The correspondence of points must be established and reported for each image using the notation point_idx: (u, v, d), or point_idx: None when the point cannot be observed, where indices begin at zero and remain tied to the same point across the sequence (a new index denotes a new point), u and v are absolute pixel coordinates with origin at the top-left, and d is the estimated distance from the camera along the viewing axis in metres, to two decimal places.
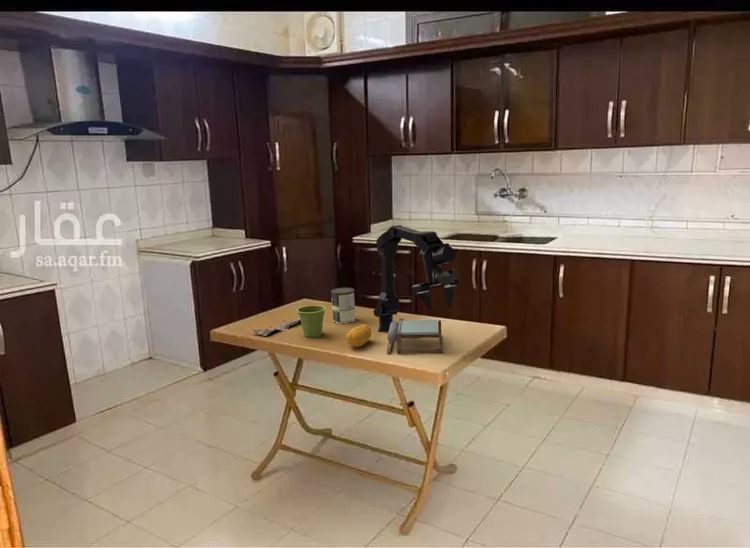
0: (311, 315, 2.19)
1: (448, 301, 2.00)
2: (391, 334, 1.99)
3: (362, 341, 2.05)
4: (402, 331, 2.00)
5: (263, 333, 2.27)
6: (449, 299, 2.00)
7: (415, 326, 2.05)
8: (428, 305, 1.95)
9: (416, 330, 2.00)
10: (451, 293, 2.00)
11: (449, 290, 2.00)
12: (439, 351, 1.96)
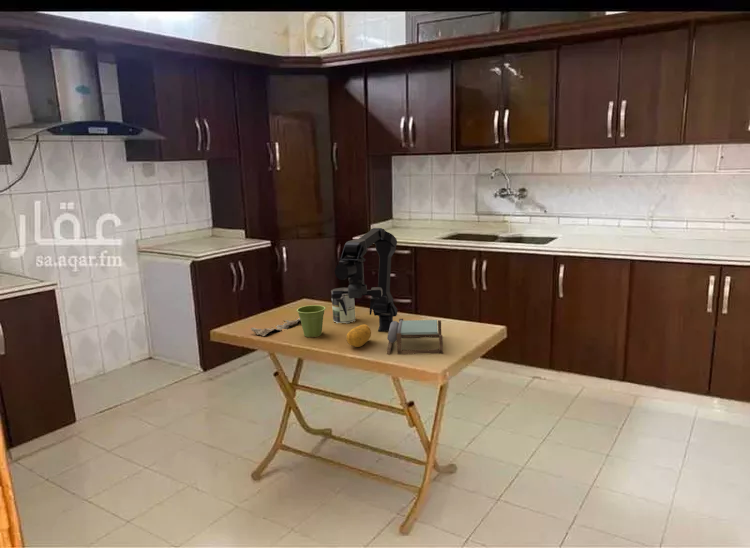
0: (311, 315, 2.19)
1: None
2: (391, 334, 1.99)
3: (362, 341, 2.05)
4: (402, 331, 2.00)
5: (262, 333, 2.28)
6: None
7: (415, 326, 2.05)
8: None
9: (416, 330, 2.00)
10: (371, 303, 2.05)
11: (370, 300, 2.05)
12: (439, 351, 1.96)
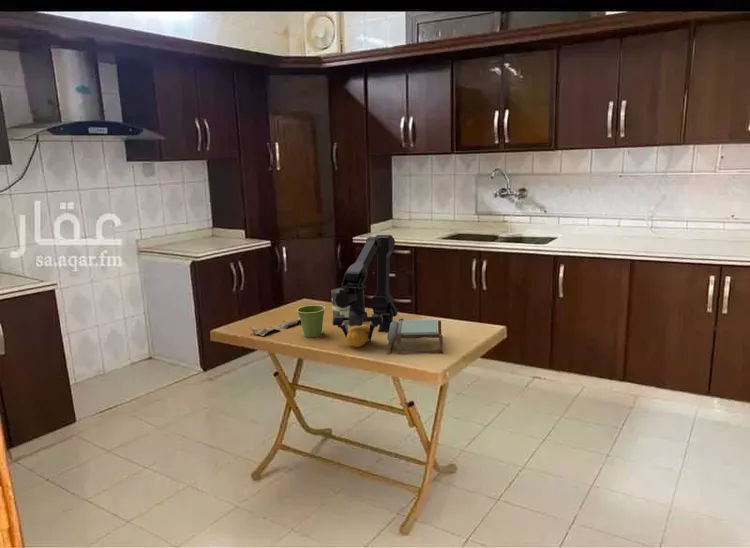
0: (311, 315, 2.19)
1: (369, 336, 2.09)
2: (391, 334, 1.99)
3: (362, 341, 2.05)
4: (402, 331, 2.00)
5: (261, 333, 2.28)
6: None
7: (415, 326, 2.05)
8: None
9: (416, 330, 2.00)
10: (371, 330, 2.07)
11: (370, 327, 2.07)
12: (439, 351, 1.96)
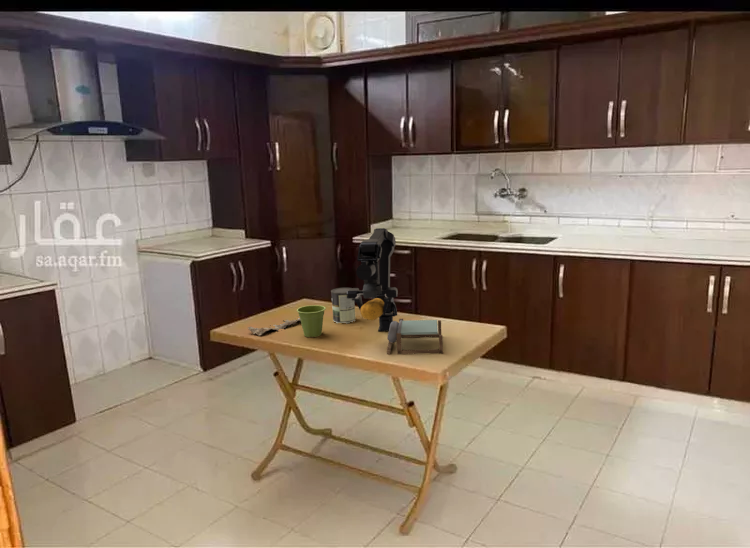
0: (311, 315, 2.19)
1: (383, 310, 2.06)
2: (391, 334, 1.99)
3: (376, 314, 2.02)
4: (402, 331, 2.00)
5: (258, 332, 2.29)
6: None
7: (415, 326, 2.05)
8: None
9: (416, 330, 2.00)
10: (385, 303, 2.04)
11: (384, 300, 2.05)
12: (439, 351, 1.96)
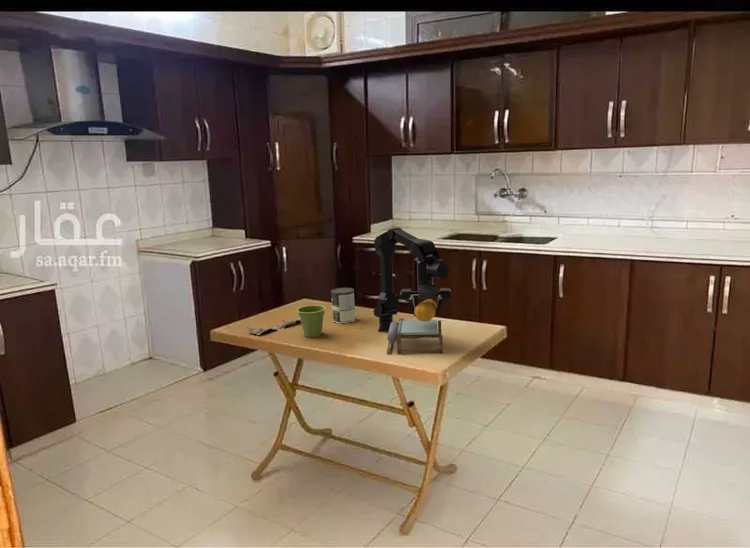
0: (311, 315, 2.19)
1: None
2: (391, 334, 1.99)
3: (431, 315, 2.00)
4: (402, 331, 2.00)
5: (257, 332, 2.29)
6: (437, 309, 2.03)
7: (415, 326, 2.05)
8: None
9: (416, 330, 2.00)
10: (439, 304, 2.02)
11: (438, 301, 2.02)
12: (439, 351, 1.96)
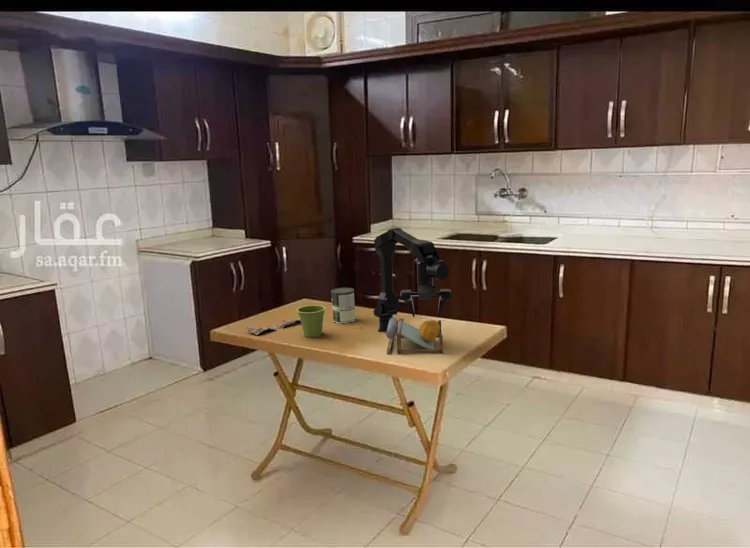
0: (311, 315, 2.19)
1: (438, 311, 2.04)
2: (391, 330, 1.98)
3: (433, 337, 2.01)
4: (402, 333, 2.00)
5: (255, 332, 2.30)
6: (438, 310, 2.03)
7: (414, 333, 2.06)
8: None
9: (415, 338, 2.01)
10: (440, 305, 2.02)
11: (439, 302, 2.02)
12: (439, 351, 1.96)
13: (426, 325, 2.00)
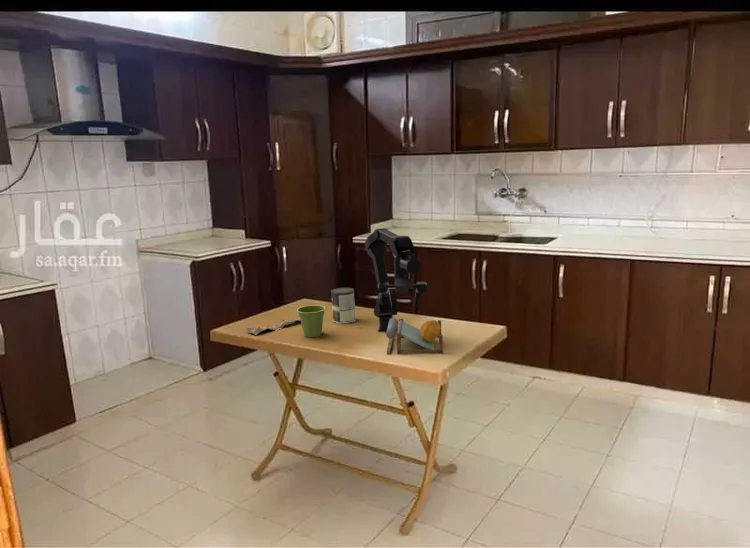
0: (311, 315, 2.19)
1: (414, 304, 2.10)
2: (391, 330, 1.98)
3: (434, 338, 2.01)
4: (402, 333, 2.00)
5: (254, 332, 2.30)
6: None
7: (414, 333, 2.06)
8: (388, 304, 2.11)
9: (415, 338, 2.01)
10: (416, 297, 2.08)
11: (415, 294, 2.08)
12: (439, 351, 1.96)
13: (427, 325, 2.00)
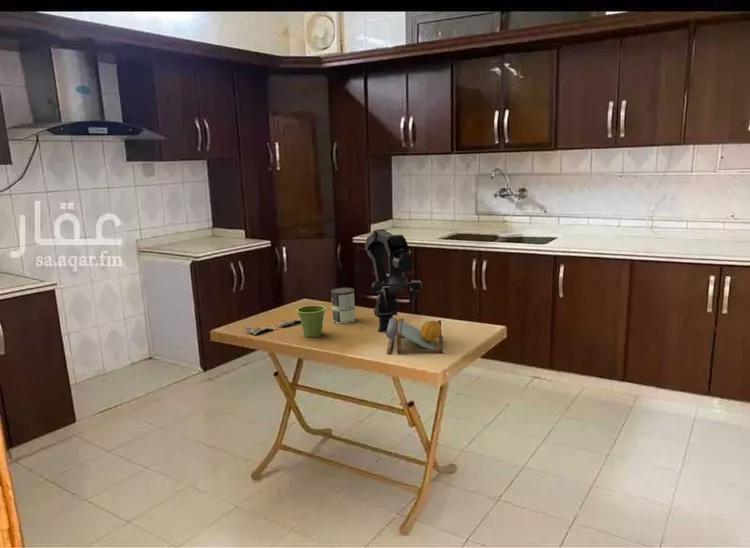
0: (311, 315, 2.19)
1: (409, 302, 2.11)
2: (391, 330, 1.98)
3: (435, 338, 2.01)
4: (402, 333, 2.00)
5: (253, 332, 2.31)
6: (409, 301, 2.11)
7: (414, 333, 2.06)
8: (383, 302, 2.12)
9: (415, 338, 2.01)
10: (411, 296, 2.09)
11: (410, 293, 2.10)
12: (439, 351, 1.96)
13: (428, 326, 2.00)
